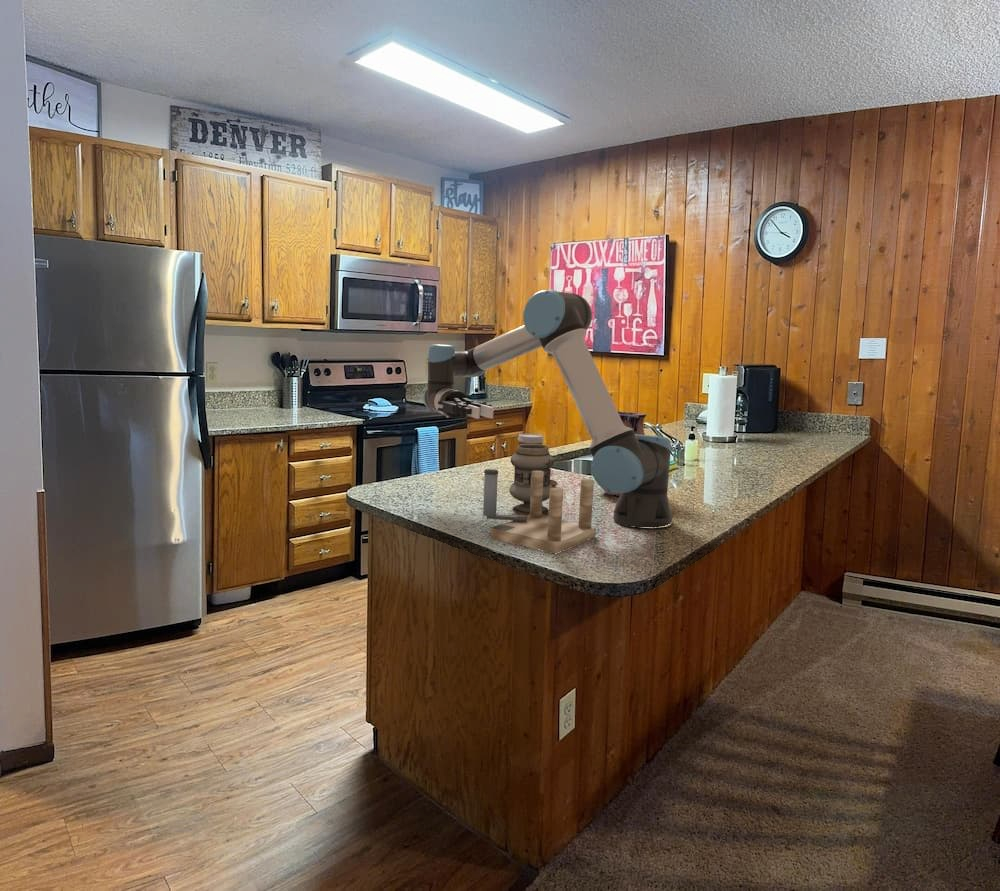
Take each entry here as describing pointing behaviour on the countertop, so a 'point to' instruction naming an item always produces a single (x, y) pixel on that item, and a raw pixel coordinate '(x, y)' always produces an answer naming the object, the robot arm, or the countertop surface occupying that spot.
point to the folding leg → (494, 498)
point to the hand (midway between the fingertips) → (485, 413)
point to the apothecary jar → (525, 463)
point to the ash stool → (550, 520)
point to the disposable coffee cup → (530, 439)
